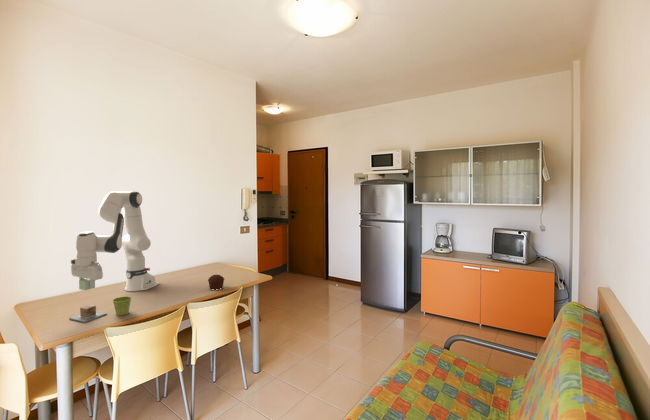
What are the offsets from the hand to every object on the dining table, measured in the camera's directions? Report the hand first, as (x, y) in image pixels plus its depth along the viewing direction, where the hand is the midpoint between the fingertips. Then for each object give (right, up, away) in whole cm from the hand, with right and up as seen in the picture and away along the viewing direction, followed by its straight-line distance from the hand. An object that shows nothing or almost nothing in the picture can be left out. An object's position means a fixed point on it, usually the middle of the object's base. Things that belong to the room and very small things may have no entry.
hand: (87, 285), depth 172 cm
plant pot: (+15, -18, +7) cm, 25 cm away
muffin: (+52, -16, +55) cm, 77 cm away
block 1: (0, -2, 0) cm, 2 cm away
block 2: (0, -17, +1) cm, 17 cm away
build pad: (0, -18, +1) cm, 18 cm away
